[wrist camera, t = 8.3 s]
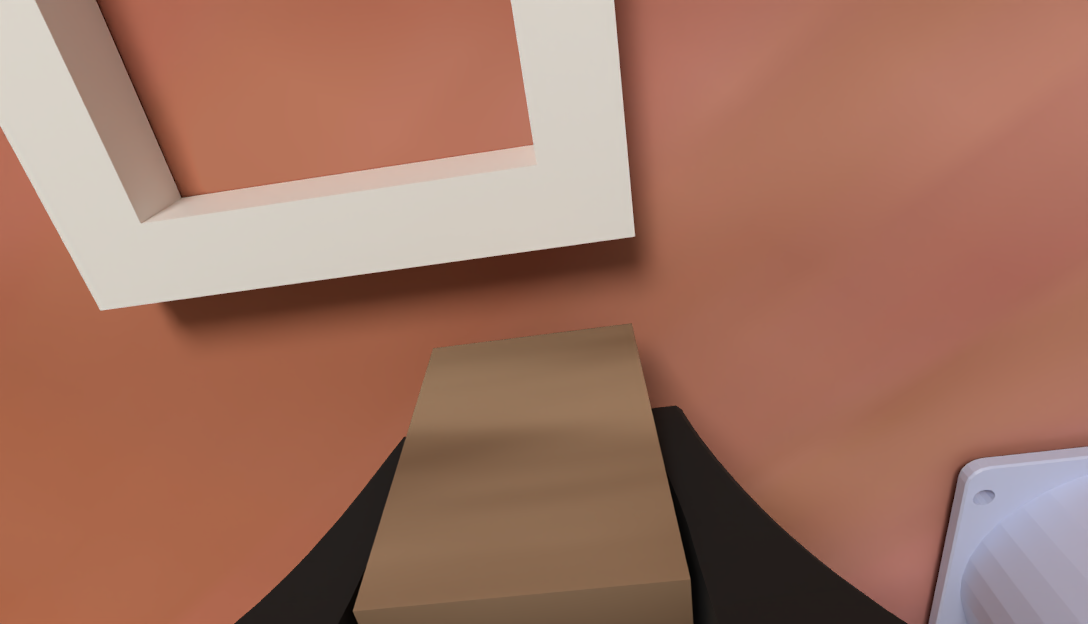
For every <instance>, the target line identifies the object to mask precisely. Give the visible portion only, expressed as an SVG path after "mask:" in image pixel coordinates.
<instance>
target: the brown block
mask: <svg viewBox="0 0 1088 624" xmlns="http://www.w3.org/2000/svg"><path fill="white" fill-rule="evenodd" d="M353 613H354V615H355V618H356V620H357V622H358V624H693V611H692V595H691V579H690V575H689V571H688V566H687V562H686V558H685V553H684V549H683V545H682V540H681V536H680V532H679V527H678V523H677V518H676V514H675V510H674V505H673V501H672V497H671V492H670V488H669V484H668V479H667V475H666V471H665V466H664V462H663V458H662V453H661V449H660V445H659V440H658V436H657V431H656V427H655V423H654V418H653V414H652V410H651V405H650V401H649V397H648V392H647V388H646V384H645V379H644V375H643V371H642V366H641V362H640V358H639V353H638V349H637V344H636V340H635V336H634V331H633V327H632V323H631V324H623V325H615V326H607V327H599V328H591V329H583V330H575V331H568V332H560V333H552V334H544V335H536V336H528V337H520V338H512V339H504V340H496V341H488V342H480V343H472V344H464V345H456V346H449V347H441V348H433V351H432V354H431V357H430V361H429V364H428V367H427V371H426V374H425V377H424V380H423V384H422V387H421V390H420V393H419V397H418V400H417V403H416V406H415V410H414V413H413V416H412V420H411V423H410V426H409V429H408V433H407V436H406V439H405V442H404V446H403V449H402V452H401V455H400V459H399V462H398V465H397V469H396V472H395V475H394V478H393V482H392V485H391V488H390V491H389V495H388V498H387V501H386V504H385V508H384V511H383V514H382V517H381V521H380V524H379V527H378V531H377V534H376V537H375V540H374V544H373V547H372V550H371V553H370V557H369V560H368V563H367V566H366V570H365V573H364V576H363V580H362V583H361V586H360V589H359V593H358V596H357V599H356V602H355V606H354V609H353Z"/></svg>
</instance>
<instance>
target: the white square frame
mask: <svg viewBox="0 0 1088 624" xmlns="http://www.w3.org/2000/svg"><path fill="white" fill-rule="evenodd" d="M511 5H512V11H513V17H514V24H515V30H516V36H517V43H518V49H519V55H520V62H521V68H522V74H523V81H524V87H525V93H526V100H527V106H528V112H529V119H530V125H531V131H532V138H533V144H534V145H529V146H523V147H516V148H509V149H503V150H496V151H489V152H483V153H476V154H470V155H463V156H456V157H450V158H443V159H436V160H430V161H423V162H416V163H410V164H403V165H397V166H390V167H383V168H377V169H370V170H363V171H357V172H350V173H343V174H337V175H330V176H324V177H317V178H310V179H304V180H297V181H290V182H284V183H277V184H270V185H264V186H257V187H250V188H244V189H237V190H231V191H224V192H217V193H211V194H204V195H197V196H191V197H184V198H181V196H180V193H179V191H178V189H177V186H176V184H175V182H174V179H173V177H172V175H171V173H170V170H169V168H168V166H167V163H166V161H165V159H164V156H163V154H162V152H161V149H160V147H159V145H158V143H157V140H156V138H155V136H154V133H153V131H152V129H151V126H150V124H149V122H148V119H147V117H146V115H145V113H144V110H143V108H142V106H141V103H140V101H139V99H138V96H137V94H136V92H135V89H134V87H133V85H132V83H131V80H130V78H129V76H128V73H127V71H126V69H125V66H124V64H123V62H122V59H121V57H120V55H119V53H118V50H117V48H116V46H115V43H114V41H113V39H112V36H111V34H110V32H109V29H108V27H107V25H106V23H105V20H104V18H103V16H102V13H101V11H100V9H99V6H98V4H97V2H96V0H0V126H1V128H2V130H3V131H4V133H5V135H6V137H7V139H8V141H9V143H10V144H11V146H12V148H13V150H14V152H15V154H16V155H17V157H18V159H19V161H20V163H21V165H22V167H23V168H24V170H25V172H26V174H27V176H28V178H29V179H30V181H31V183H32V185H33V187H34V189H35V191H36V192H37V194H38V196H39V198H40V200H41V202H42V203H43V205H44V207H45V209H46V211H47V213H48V215H49V216H50V218H51V220H52V222H53V224H54V226H55V227H56V229H57V231H58V233H59V235H60V237H61V239H62V240H63V242H64V244H65V246H66V248H67V250H68V251H69V253H70V255H71V257H72V259H73V261H74V263H75V264H76V266H77V268H78V270H79V272H80V274H81V275H82V277H83V279H84V281H85V283H86V285H87V287H88V288H89V290H90V292H91V294H92V296H93V298H94V299H95V301H96V303H97V305H98V307H99V309H100V311H101V310H108V309H115V308H122V307H130V306H137V305H144V304H151V303H158V302H166V301H173V300H180V299H187V298H195V297H202V296H209V295H216V294H223V293H231V292H238V291H245V290H252V289H260V288H267V287H274V286H281V285H289V284H296V283H303V282H310V281H317V280H325V279H332V278H339V277H346V276H354V275H361V274H368V273H375V272H382V271H390V270H397V269H404V268H411V267H419V266H426V265H433V264H440V263H448V262H455V261H462V260H469V259H476V258H484V257H491V256H498V255H505V254H513V253H520V252H527V251H534V250H541V249H549V248H556V247H563V246H570V245H578V244H585V243H592V242H599V241H607V240H614V239H621V238H628V237H635V230H634V219H633V208H632V196H631V185H630V174H629V163H628V152H627V140H626V129H625V118H624V107H623V96H622V84H621V73H620V62H619V51H618V40H617V28H616V17H615V6H614V0H511Z"/></svg>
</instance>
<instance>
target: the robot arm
mask: <svg viewBox="0 0 1088 624" xmlns="http://www.w3.org/2000/svg"><path fill="white" fill-rule="evenodd" d="M651 410H652V414H653V418H654V423H655V427H656V431H657V436H658V440H659V445H660V449H661V453H662V458H663V462H664V466H665V471H666V475H667V479H668V484H669V488H670V492H671V497H672V501H673V505H674V510H675V514H676V518H677V523H678V527H679V532H680V536H681V540H682V545H683V549H684V553H685V558H686V562H687V566H688V571H689V575H690V579H691V595H692V611H693V624H907V623H906V622H904V621H902V620H901V619H899V618H898V617H896V616H895V615H893V614H892V613H890V612H889V611H887V610H886V609H884V608H883V607H882V606H880V605H879V604H877V603H876V602H875V601H873V600H872V599H870V598H869V597H868V596H866V595H865V594H864V593H862V592H861V591H859V590H858V589H857V588H855V587H854V586H852V585H851V584H850V583H848V582H847V581H846V580H844V579H843V578H841V577H840V576H839V575H837V574H836V573H835V572H833V571H832V570H831V569H830V568H828V567H827V566H826V565H825V564H823V563H822V562H821V561H820V560H818V559H817V558H816V557H815V556H814V555H812V554H811V553H810V552H809V551H807V550H806V549H805V548H804V547H803V546H802V545H801V544H799V543H798V542H797V541H796V540H795V539H794V538H793V537H791V536H790V535H789V534H788V533H787V532H786V531H785V530H784V529H783V528H781V527H780V526H779V525H778V524H777V523H776V522H775V521H774V520H773V519H772V518H771V517H770V516H769V515H768V514H767V513H766V512H765V511H764V510H763V509H762V508H761V507H760V506H759V505H758V504H757V503H756V502H755V501H754V500H753V499H752V498H751V497H750V496H749V495H748V494H747V493H746V492H745V491H744V489H743V488H742V487H741V486H740V485H739V484H738V483H737V482H736V481H735V480H734V478H733V477H732V476H731V475H730V474H729V473H728V471H727V470H726V469H725V468H724V467H723V466H722V464H721V463H720V462H719V461H718V460H717V459H716V457H715V456H714V455H713V454H712V452H711V451H710V450H709V449H708V447H707V446H706V445H705V443H704V442H703V441H702V439H701V438H700V437H699V435H698V434H697V432H696V431H695V430H694V428H693V427H692V425H691V424H690V422H689V421H688V419H687V418H686V416H685V414H684V413H683V411H682V410H681V409H680V408H679V407H677V406H668V407H660V408H651ZM405 439H406V437H404V438H403V439H402V440H401V442H400V443H399V444H398V445H397V447H396V448H395V449H394V450H393V452H392V453H391V454H390V455H389V457H388V458H387V459H386V461H385V462H384V463H383V464H382V466H381V467H380V468H379V470H378V471H377V472H376V474H375V475H374V476H373V477H372V479H371V480H370V481H369V483H368V484H367V485H366V486H365V488H364V489H363V490H362V491H361V493H360V494H359V495H358V496H357V498H356V499H355V500H354V501H353V503H352V504H351V505H350V506H349V508H348V509H347V510H346V511H345V512H344V514H343V515H342V516H341V517H340V519H339V520H338V521H337V522H336V523H335V524H334V525H333V527H332V528H331V529H330V530H329V531H328V532H327V533H326V535H325V536H324V537H323V538H322V539H321V540H320V541H319V542H318V544H317V545H316V546H315V547H314V548H313V549H312V550H311V551H310V553H309V554H308V555H307V556H306V557H305V558H304V559H303V560H302V561H301V562H300V563H299V564H298V565H297V566H296V567H295V568H294V569H293V570H292V571H291V572H290V573H289V574H288V575H287V576H286V577H285V578H284V579H283V580H282V581H281V582H280V583H279V584H278V585H277V586H276V587H275V588H274V589H273V590H272V591H271V592H270V593H269V594H268V595H266V596H265V597H264V598H263V599H262V600H261V601H260V602H259V603H258V604H257V605H256V606H255V607H253V608H252V609H251V610H250V611H249V612H247V613H246V614H245V615H244V616H243V617H242V618H240V619H239V620H238V621H237V622H236V623H234V624H358V622H357V620H356V618H355V615H354V613H353V609H354V606H355V602H356V599H357V596H358V593H359V589H360V586H361V583H362V580H363V576H364V573H365V570H366V566H367V563H368V560H369V557H370V553H371V550H372V547H373V544H374V540H375V537H376V534H377V531H378V527H379V524H380V521H381V517H382V514H383V511H384V508H385V504H386V501H387V498H388V495H389V491H390V488H391V485H392V482H393V478H394V475H395V472H396V469H397V465H398V462H399V459H400V455H401V452H402V449H403V446H404V442H405ZM978 492H979V493H978ZM929 624H1088V447H1079V448H1070V449H1061V450H1052V451H1043V452H1033V453H1024V454H1015V455H1006V456H997V457H987V458H980V459H976V460H973V461H971V462H969V463H967V464H966V465H965V466H964V467H963V468H962V469H961V471H960V474H959V476H958V481H957V486H956V491H955V496H954V501H953V506H952V511H951V516H950V521H949V525H948V530H947V535H946V540H945V545H944V550H943V555H942V560H941V565H940V570H939V575H938V579H937V584H936V589H935V594H934V599H933V604H932V609H931V614H930V619H929Z"/></svg>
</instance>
